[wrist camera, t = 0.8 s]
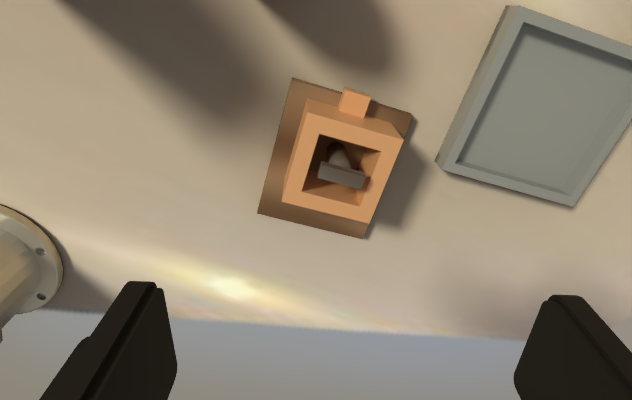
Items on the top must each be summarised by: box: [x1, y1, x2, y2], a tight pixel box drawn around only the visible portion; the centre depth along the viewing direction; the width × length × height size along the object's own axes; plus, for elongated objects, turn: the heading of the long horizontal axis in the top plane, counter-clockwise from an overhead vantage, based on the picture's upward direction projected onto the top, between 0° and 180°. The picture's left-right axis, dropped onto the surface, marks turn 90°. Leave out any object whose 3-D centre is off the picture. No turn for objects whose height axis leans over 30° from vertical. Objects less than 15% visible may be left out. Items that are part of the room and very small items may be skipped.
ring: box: [282, 87, 404, 224], centre depth 29 cm, size 9×7×4 cm
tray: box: [435, 6, 632, 207], centre depth 31 cm, size 13×13×2 cm
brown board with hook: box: [257, 78, 413, 239], centre depth 30 cm, size 12×10×6 cm
